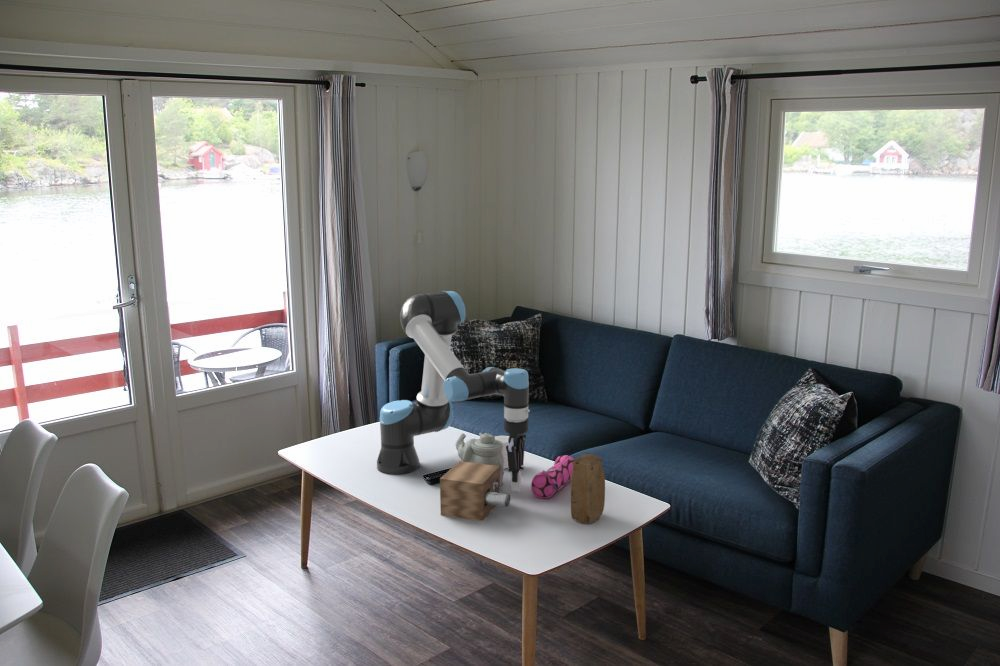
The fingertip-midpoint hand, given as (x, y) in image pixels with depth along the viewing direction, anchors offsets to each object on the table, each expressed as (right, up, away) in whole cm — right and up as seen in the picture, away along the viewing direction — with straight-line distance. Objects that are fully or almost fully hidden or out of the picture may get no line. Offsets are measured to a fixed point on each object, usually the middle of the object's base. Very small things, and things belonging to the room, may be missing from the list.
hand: (516, 490), depth 272 cm
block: (+22, -8, -6) cm, 24 cm away
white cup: (-4, +2, +39) cm, 39 cm away
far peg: (-13, -1, +5) cm, 14 cm away
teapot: (-12, -2, +23) cm, 26 cm away
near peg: (-9, -3, -5) cm, 11 cm away
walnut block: (-14, -6, +2) cm, 16 cm away
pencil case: (+13, -3, +17) cm, 22 cm away
